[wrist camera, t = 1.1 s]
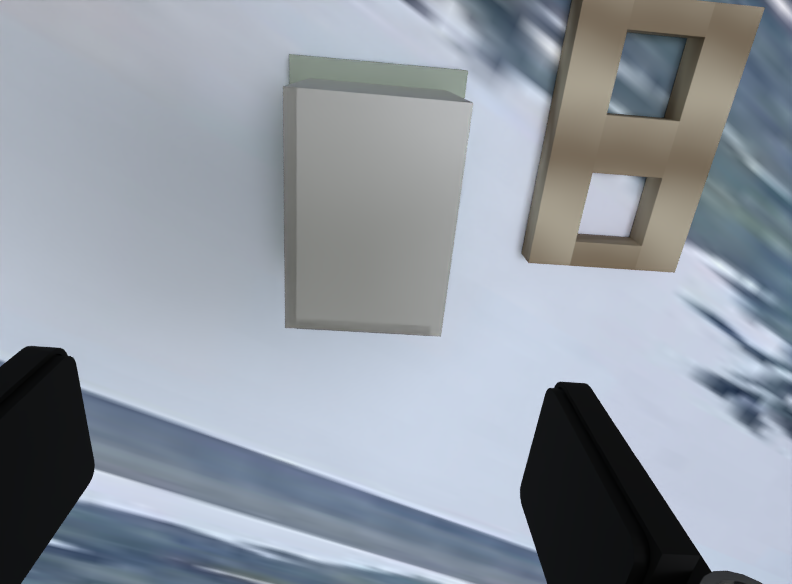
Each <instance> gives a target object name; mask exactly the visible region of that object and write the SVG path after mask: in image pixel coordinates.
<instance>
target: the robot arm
mask: <svg viewBox="0 0 792 584" xmlns="http://www.w3.org/2000/svg"><path fill="white" fill-rule="evenodd" d="M94 467H95V464H94V457H93V452H92V447H91V441H90V436H89V430H88V425H87V420H86V414H85V409H84V404H83V398H82V393H81V387H80V382H79V377H78V371H77V366H76V362H75V360H74V358H73V357H71V356H67V353H66V352H65V350H64V349H61V348H53V347H38V346H27V347H25V348H23V349H22V350H21V351H19V352H18V353H17V354H16V355H14V356H13V357H12V358H11V359H9V360H8V361H7V362H6V363H4V364H3V365H2V366H1V367H0V584H21V583H22V581H23V580H24V578H25V577H26V575H27V574H28V573H29V571H30V570H31V568H32V567H33V565H34V564H35V562H36V561H37V559H38V558H39V556H40V555H41V553H42V552H43V551H44V549H45V548H46V546H47V545H48V543H49V542H50V540H51V539H52V537H53V536H54V534H55V533H56V532H57V530H58V529H59V527H60V526H61V524H62V523H63V521H64V520H65V518H66V517H67V515H68V514H69V513H70V511H71V510H72V508H73V507H74V505H75V504H76V502H77V501H78V499H79V498H80V496H81V495H82V494H83V492H84V491H85V489H86V488H87V486H88V485H89V483H90V481H91V479H92V477H93V473H94ZM520 499H521V504H522V507H523V510H524V514H525V517H526V520H527V523H528V526H529V529H530V532H531V535H532V538H533V541H534V544H535V547H536V550H537V554H538V557H539V560H540V563H541V566H542V569H543V572H544V575H545V578H546V581H547V584H762V583H761V582H759V581H756V580H754V579H752V578H750V577H747V576H745V575H743V574H739V573H734V572H730V571H713V572H711V570H710V569H709V567H708V565H707V564H706V562H705V561H704V559H703V558H702V556H701V555H700V553H699V552H698V550H697V549H696V547H695V546H694V544H693V543H692V541H691V540H690V538H689V536H688V535H687V533H686V532H685V530H684V529H683V527H682V526H681V524H680V523H679V521H678V520H677V518H676V517H675V515H674V514H673V512H672V511H671V509H670V507H669V506H668V504H667V503H666V501H665V500H664V498H663V497H662V495H661V494H660V492H659V491H658V489H657V488H656V486H655V485H654V483H653V482H652V480H651V478H650V477H649V475H648V474H647V472H646V471H645V469H644V468H643V466H642V465H641V463H640V462H639V460H638V459H637V458H636V456H635V455H634V453H633V452H632V450H631V448H630V447H629V445H628V444H627V442H626V441H625V439H624V438H623V436H622V435H621V433H620V432H619V430H618V429H617V427H616V426H615V424H614V422H613V421H612V419H611V418H610V416H609V415H608V413H607V412H606V410H605V409H604V407H603V406H602V404H601V403H600V401H599V400H598V398H597V396H596V395H595V393H594V392H593V390H592V389H591V387H590V386H589V385H588V384H585V383H572V382H558V383H557V384H556V385H555V387H554V388H549V389H548V390H547V391H546V394H545V397H544V401H543V404H542V408H541V412H540V416H539V419H538V423H537V427H536V431H535V434H534V438H533V442H532V445H531V449H530V453H529V457H528V460H527V464H526V468H525V472H524V475H523V479H522V483H521V487H520Z"/></svg>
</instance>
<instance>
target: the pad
mask: <svg viewBox="0 0 792 584" xmlns="http://www.w3.org/2000/svg"><path fill="white" fill-rule="evenodd" d="M467 75H468V71H466V70H457V69H446V68H435V67H424V66H413V65H402V64H391V63H380V62H369V61H358V60H347V59H336V58H325V57H315V56H304V55H292V54H289V84H292V83H295V82H298V81H301V80H305V79H308V78H315V79H326V80H337V81H349V82H360V83H371V84H383V85H394V86H405V87H416V88H428V89H439V90H447V91H449V92H451V93H453V94H455V95H457V96H460V97H462V98H465V90H466V83H467Z"/></svg>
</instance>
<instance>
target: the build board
mask: <svg viewBox="0 0 792 584" xmlns="http://www.w3.org/2000/svg"><path fill="white" fill-rule="evenodd" d="M763 11H764V7H754V6H745V5H735V4H726V3H716V2H706V1H697V0H572V2H571V7H570V12H569V18H568V23H567V28H566V33H565V38H564V43H563V48H562V53H561V58H560V63H559V68H558V73H557V78H556V83H555V88H554V93H553V98H552V103H551V108H550V113H549V118H548V123H547V128H546V133H545V138H544V143H543V148H542V153H541V158H540V163H539V168H538V173H537V178H536V183H535V188H534V193H533V198H532V203H531V208H530V213H529V218H528V223H527V228H526V233H525V238H524V243H523V248H522V255H523V256H524V257H525V259H526V260H527V261H528V263H539V264H554V265H569V266H584V267H600V268H615V269H630V270H645V271H660V272H675V270H676V267H677V264H678V261H679V258H680V255H681V252H682V249H683V246H684V244H685V241H686V238H687V235H688V232H689V229H690V226H691V223H692V220H693V217H694V214H695V211H696V208H697V205H698V202H699V199H700V197H701V194H702V191H703V188H704V185H705V182H706V179H707V176H708V173H709V170H710V167H711V164H712V161H713V158H714V155H715V152H716V149H717V147H718V144H719V141H720V138H721V135H722V132H723V129H724V126H725V123H726V120H727V117H728V114H729V111H730V108H731V105H732V102H733V100H734V97H735V94H736V91H737V88H738V85H739V82H740V79H741V76H742V73H743V70H744V67H745V64H746V61H747V58H748V55H749V52H750V50H751V47H752V44H753V41H754V38H755V35H756V32H757V29H758V26H759V23H760V20H761V17H762V14H763ZM627 32H630V33H640V34H650V35H660V36H671V37H681V38H687V41H686V44H685V48H684V51H683V55H682V58H681V62H680V65H679V69H678V72H677V75H676V79H675V82H674V86H673V89H672V93H671V96H670V100H669V103H668V106H667V110H666V113H665V117H664V118H657V117H646V116H634V115H623V114H611V113H607V111H608V107H609V103H610V99H611V95H612V91H613V87H614V82H615V78H616V74H617V70H618V66H619V62H620V58H621V54H622V50H623V46H624V42H625V38H626V33H627ZM592 173H604V174H617V175H630V176H642V177H647V179H646V182H645V186H644V189H643V192H642V196H641V199H640V203H639V206H638V210H637V213H636V217H635V220H634V223H633V227H632V230H631V234H630V237H617V236H603V235H589V234H578V230H579V226H580V221H581V217H582V213H583V209H584V205H585V201H586V197H587V193H588V189H589V185H590V181H591V176H592Z"/></svg>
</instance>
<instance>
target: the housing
mask: <svg viewBox="0 0 792 584" xmlns="http://www.w3.org/2000/svg"><path fill="white" fill-rule="evenodd" d="M472 108H473V103H472V102H470V101H468V100H466V99H464V98H462V97H460V96H457V95H455V94H453V93H451V92H449V91H447V90H439V89H428V88H416V87H405V86H394V85H383V84H371V83H360V82H349V81H337V80H326V79H315V78H308V79H305V80H301V81H298V82H295V83H292V84H289V85H286V86H283V148H284V258H285V328H297V329H315V330H333V331H351V332H369V333H387V334H405V335H423V336H441V332H442V325H443V317H444V310H445V303H446V296H447V289H448V281H449V274H450V267H451V260H452V253H453V245H454V238H455V231H456V224H457V216H458V209H459V202H460V195H461V188H462V180H463V173H464V166H465V159H466V152H467V144H468V137H469V130H470V123H471V116H472Z"/></svg>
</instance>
